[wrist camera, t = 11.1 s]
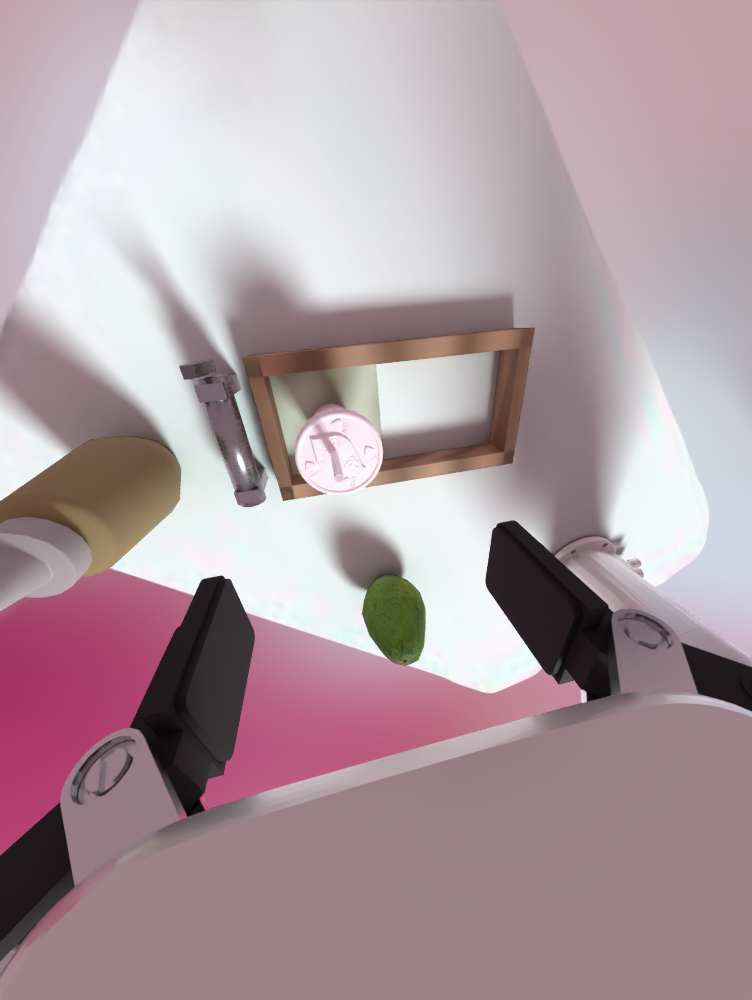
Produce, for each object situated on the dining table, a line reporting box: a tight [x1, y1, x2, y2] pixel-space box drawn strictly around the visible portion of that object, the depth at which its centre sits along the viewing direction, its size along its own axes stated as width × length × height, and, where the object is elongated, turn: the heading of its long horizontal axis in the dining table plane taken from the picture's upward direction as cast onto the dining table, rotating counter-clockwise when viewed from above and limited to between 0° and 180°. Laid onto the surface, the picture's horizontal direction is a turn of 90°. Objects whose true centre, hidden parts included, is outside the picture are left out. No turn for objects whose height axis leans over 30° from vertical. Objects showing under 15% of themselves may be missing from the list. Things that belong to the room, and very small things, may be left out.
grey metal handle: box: [179, 360, 268, 507], centre depth 25 cm, size 2×12×8 cm, turn 5°
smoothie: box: [295, 403, 383, 495], centre depth 23 cm, size 6×6×14 cm
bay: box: [243, 328, 535, 501], centre depth 29 cm, size 25×13×3 cm, turn 95°
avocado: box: [362, 575, 425, 666], centre depth 37 cm, size 8×8×12 cm
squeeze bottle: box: [0, 437, 181, 611], centre depth 20 cm, size 8×8×18 cm
